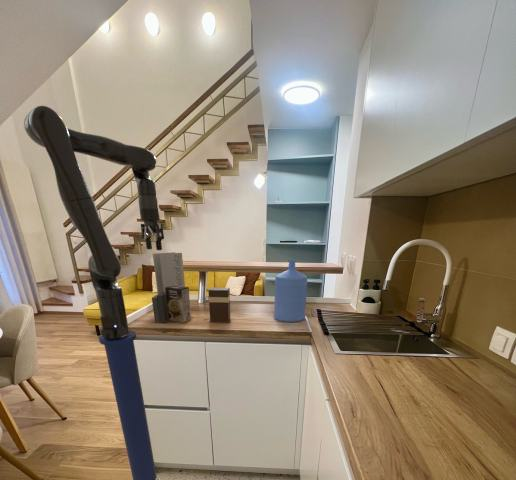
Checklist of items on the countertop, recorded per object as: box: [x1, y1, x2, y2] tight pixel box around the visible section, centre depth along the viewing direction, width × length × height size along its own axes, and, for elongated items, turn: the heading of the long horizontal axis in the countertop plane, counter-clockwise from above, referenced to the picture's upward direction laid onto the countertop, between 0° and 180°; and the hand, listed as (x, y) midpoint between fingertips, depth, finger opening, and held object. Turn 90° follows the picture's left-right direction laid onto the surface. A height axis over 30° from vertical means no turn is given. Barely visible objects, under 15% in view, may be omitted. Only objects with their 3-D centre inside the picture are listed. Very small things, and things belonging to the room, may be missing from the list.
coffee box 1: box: [165, 286, 192, 323], centre depth 134 cm, size 9×6×16 cm
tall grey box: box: [152, 252, 186, 295], centre depth 148 cm, size 14×6×30 cm, turn 147°
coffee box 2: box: [207, 287, 231, 324], centre depth 133 cm, size 6×9×16 cm
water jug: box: [273, 260, 308, 323], centre depth 136 cm, size 16×16×28 cm
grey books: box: [151, 291, 170, 324], centre depth 135 cm, size 11×5×13 cm, turn 178°
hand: (154, 249), depth 121 cm, fingers open, 8 cm apart
